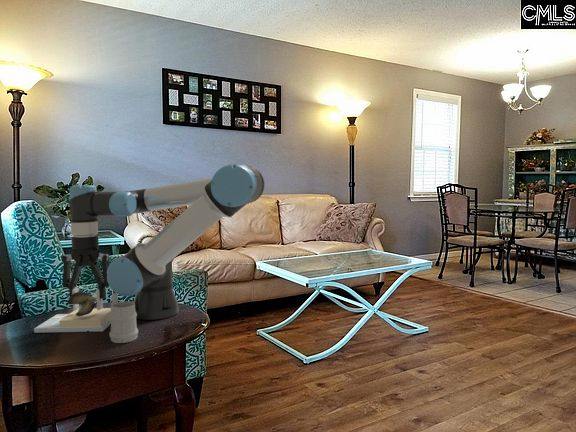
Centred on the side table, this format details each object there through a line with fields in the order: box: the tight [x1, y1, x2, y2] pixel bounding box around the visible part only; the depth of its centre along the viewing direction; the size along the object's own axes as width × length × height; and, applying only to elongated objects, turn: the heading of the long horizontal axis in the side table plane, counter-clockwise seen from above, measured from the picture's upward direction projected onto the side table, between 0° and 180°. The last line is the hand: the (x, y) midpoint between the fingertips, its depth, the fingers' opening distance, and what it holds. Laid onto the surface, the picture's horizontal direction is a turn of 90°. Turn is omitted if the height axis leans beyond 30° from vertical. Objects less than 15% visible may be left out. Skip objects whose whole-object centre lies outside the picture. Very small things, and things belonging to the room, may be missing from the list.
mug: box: [108, 292, 139, 344], centre depth 125 cm, size 8×12×12 cm, turn 44°
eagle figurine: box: [67, 291, 97, 316], centre depth 134 cm, size 8×7×9 cm
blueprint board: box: [33, 307, 111, 334], centre depth 136 cm, size 20×14×3 cm
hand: (88, 308), depth 136 cm, fingers closed on eagle figurine, 7 cm apart
